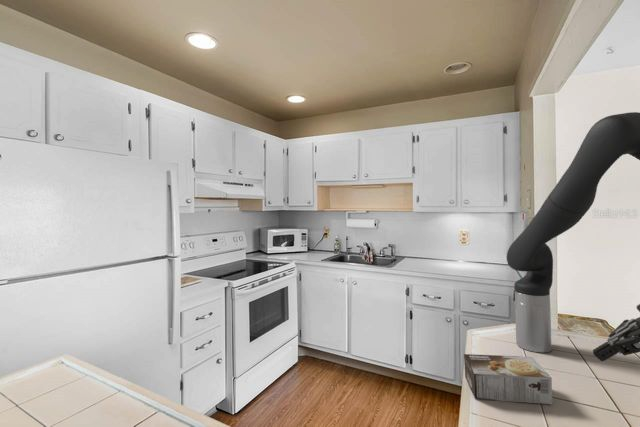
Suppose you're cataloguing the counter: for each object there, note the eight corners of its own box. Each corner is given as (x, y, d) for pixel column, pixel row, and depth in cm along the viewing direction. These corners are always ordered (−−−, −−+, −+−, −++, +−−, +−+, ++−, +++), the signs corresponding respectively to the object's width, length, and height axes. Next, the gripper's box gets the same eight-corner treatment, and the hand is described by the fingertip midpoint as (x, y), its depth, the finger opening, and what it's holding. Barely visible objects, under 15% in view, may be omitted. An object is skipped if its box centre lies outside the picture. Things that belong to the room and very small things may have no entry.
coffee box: (533, 381, 76) (464, 376, 79) (532, 356, 76) (463, 352, 79) (553, 405, 67) (474, 399, 70) (552, 377, 67) (473, 372, 70)
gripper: (650, 287, 66) (578, 332, 73) (667, 301, 56) (582, 352, 63) (688, 315, 63) (609, 360, 70) (715, 336, 52) (619, 386, 59)
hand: (596, 356), depth 66 cm, fingers closed
